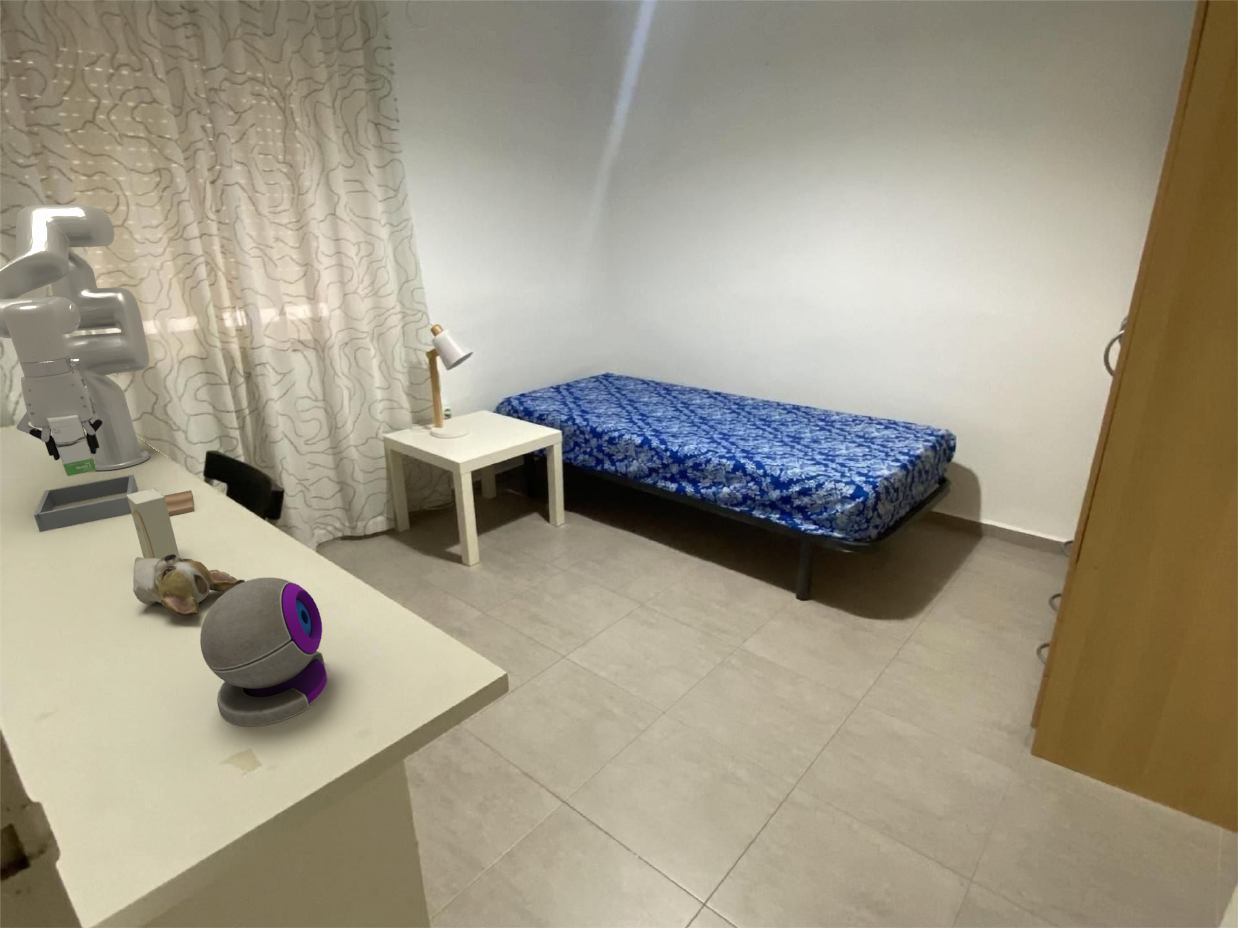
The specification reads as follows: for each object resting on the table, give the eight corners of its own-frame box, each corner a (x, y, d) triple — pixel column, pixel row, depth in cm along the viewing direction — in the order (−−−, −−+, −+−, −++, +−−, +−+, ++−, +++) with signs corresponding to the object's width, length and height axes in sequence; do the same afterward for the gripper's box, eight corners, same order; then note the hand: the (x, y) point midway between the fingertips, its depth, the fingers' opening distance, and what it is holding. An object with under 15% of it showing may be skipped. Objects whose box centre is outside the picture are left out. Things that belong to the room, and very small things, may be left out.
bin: (50, 505, 145) (45, 490, 143) (137, 489, 152) (133, 474, 151) (39, 531, 132) (33, 515, 131) (135, 512, 140) (131, 496, 139)
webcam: (320, 716, 80) (296, 606, 75) (202, 735, 78) (168, 622, 73) (339, 652, 92) (319, 553, 87) (237, 666, 90) (210, 565, 85)
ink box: (96, 471, 138) (79, 415, 134) (66, 477, 135) (46, 420, 131) (93, 459, 145) (76, 406, 140) (64, 465, 142) (45, 410, 137)
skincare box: (143, 558, 120) (124, 494, 116) (171, 549, 123) (154, 487, 119) (153, 569, 116) (134, 503, 112) (182, 559, 119) (165, 495, 115)
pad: (143, 504, 144) (141, 499, 144) (192, 494, 148) (191, 490, 148) (142, 521, 135) (140, 517, 135) (194, 511, 140) (193, 506, 139)
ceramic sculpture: (163, 533, 109) (241, 546, 106) (174, 579, 112) (251, 594, 109) (100, 565, 99) (184, 581, 96) (115, 615, 103) (197, 632, 99)
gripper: (102, 358, 139) (127, 441, 146) (-7, 370, 131) (25, 458, 138) (100, 365, 133) (126, 452, 140) (-14, 378, 125) (19, 469, 132)
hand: (75, 454), depth 139 cm, fingers closed on ink box, 5 cm apart
